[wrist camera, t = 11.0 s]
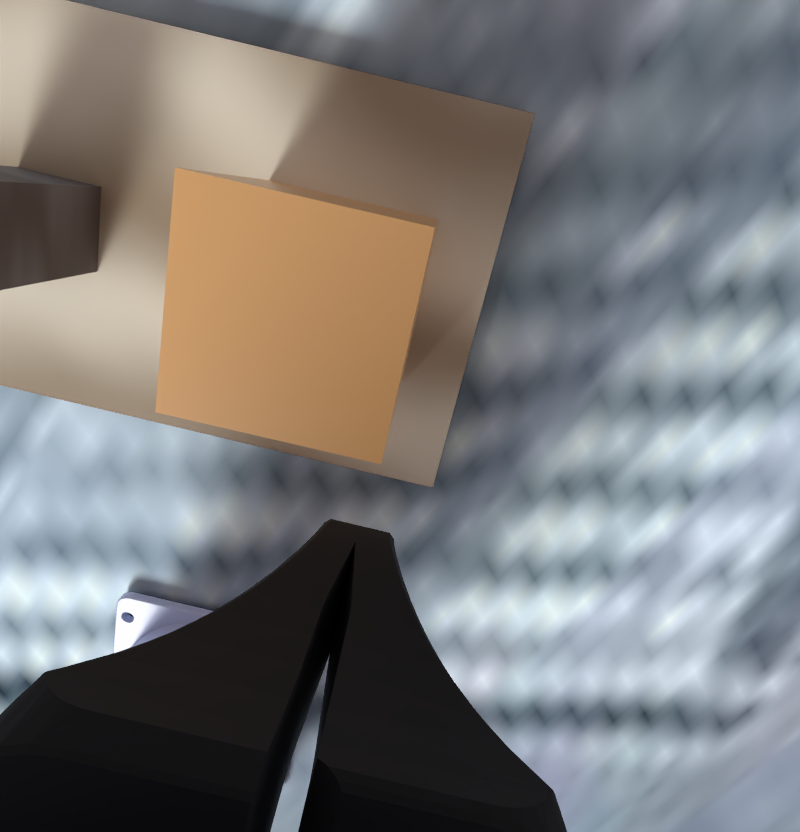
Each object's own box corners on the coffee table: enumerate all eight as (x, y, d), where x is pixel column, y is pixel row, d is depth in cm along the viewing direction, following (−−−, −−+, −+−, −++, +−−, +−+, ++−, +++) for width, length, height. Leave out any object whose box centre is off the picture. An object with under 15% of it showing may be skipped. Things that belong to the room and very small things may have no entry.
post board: (433, 477, 22) (428, 570, 16) (-55, 361, 21) (-225, 415, 16) (531, 117, 18) (569, 78, 12) (-71, -29, 17) (-307, -135, 12)
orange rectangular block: (401, 382, 20) (380, 464, 13) (246, 346, 20) (155, 411, 13) (438, 219, 18) (434, 227, 12) (269, 180, 18) (174, 167, 12)
